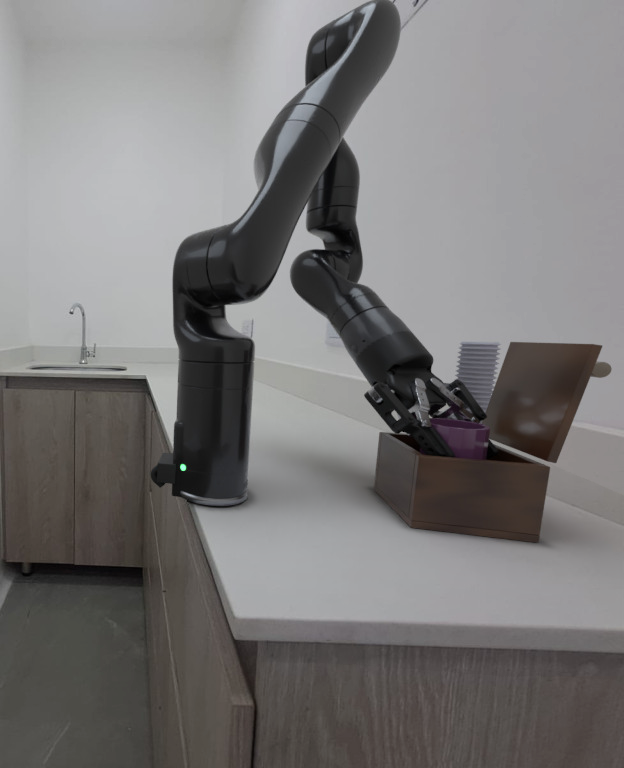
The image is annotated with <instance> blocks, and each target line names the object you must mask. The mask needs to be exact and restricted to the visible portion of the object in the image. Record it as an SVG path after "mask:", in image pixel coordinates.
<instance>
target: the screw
mask: <svg viewBox="0 0 624 768" xmlns="http://www.w3.org/2000/svg"><path fill="white" fill-rule="evenodd" d="M459 345H461V346H459V347H458V349H459V350H460V351H457V354H459V355H458V356H457V359H459V360H457V361H456V363H457V364H458V365H455V366H456V368H458V369H456V370H455V372H456V374H454V376H455V377H457V378H455V379H454V380H460V381H461V382H463V384H464V385H465V386H466V388H467V389H468V390H469V392H470V393H471V395H472V396H473V397H474V399H475V400H476V401H477V403H478V404H479V406H480V407H481V408H482V410H483V411H484V413H485V412H486V410H487V407H488V404H489V401H490V398H491V396H492V393H493V390H494V387H495V384H496V381H494V380H497V379H498V376H497V377H496V375H497V374H498V375H499V373H498V372H497V371H495V370H499V367H497V365H499V364H500V363H499V362H497V361H498V360H500V359H501V358H500V357H497V356H499V355H501V353H500V352H498V351H500V350H501V349H502V348H501V347H498V346H501V345H502V344H501V343H500V342H499V341H498V342H497V341H461V342H460V343H459ZM466 409H467V410H468V411H469V412H470V413H472V412H471V410H470V409H469V407H468V408H466ZM450 416H451V417H452V418H453V419H456V420H457V418H456V417H455V415H454V414H452V415H450ZM482 421H483V420H482ZM482 421H481V422H480V424H482Z"/></svg>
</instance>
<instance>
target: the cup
mask: <svg viewBox="0 0 624 768" xmlns="http://www.w3.org/2000/svg"><path fill="white" fill-rule="evenodd" d="M429 418H430V421H431V424H432V426H431V427H429V428H435V429H436V430H437V431H438V433H439V434H440V435H441V437H442V438H443V439H444V441H445V442H446V443H447V445H448V446H449V447H450V449H451V450H452V451H453V452H454V454H455V457H454V458H467V459H479V460H486V456H487V448H488V441H489V440H490V439H489V434H490V428H489V426H486V425H483V424H480V423H475V422H470V421H464V420H456V419H446V418H432V417H429ZM420 453H421V454H423V455H426V454H425V452H424V451H423V450H422V448H421V447H420Z"/></svg>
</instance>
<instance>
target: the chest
mask: <svg viewBox="0 0 624 768" xmlns="http://www.w3.org/2000/svg"><path fill="white" fill-rule="evenodd" d="M493 444H494V443H493ZM494 446H495V447H496V448H497V450H498V454H497V455H496V456H494V457H492V458H490V459H488V460H479V459H467V458H454V457H441V456H429V455H423V454H421V453H420V445H419V444H418V442H417V441H416V440H415V438H414V437H410V436H408V435H407V434H406V433H405V432H400V433H399V434H397V433H395V432H388V431H379V433H378V444H377V452H376V462H375V472H374V475H375V476H374V484H373V491H374V492H376V493H377V494H378V495H379V496H380V497H381V498H382V500H383V501H384V502H385V503H386V504H387V505H388V506H390V508H392V510H393V511H394V512H395V513H396V514H397V515H398V516H399V517H400V519H402V520H403V521H404V522H405V523H406V524H407V525H408V526H409V527H410V529H411V528H412V529H421V530H428V531H438V532H445V533H454V534H461V535H462V534H463V535H470V536H479V537H486V538H495V539H503V540H510V541H511V540H512V541H520V542H530V543H539V542H540V535H541V528H542V522H543V516H544V510H545V504H546V497H547V491H548V485H549V478H550V472H551V467H550V466H549V465H546V464H544V463H542V462H539V461H536V460H534V459H531V458H530V457H527V456H524V455H522V454H519V453H517V452H514V451H512V450H509V449H507V448H504V447H503V446H499V445H497V444H494Z"/></svg>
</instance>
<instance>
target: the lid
mask: <svg viewBox="0 0 624 768" xmlns="http://www.w3.org/2000/svg"><path fill="white" fill-rule="evenodd" d="M602 349H603V345H601V344H595V343H572V342H571V343H569V342H567V343H565V342H534V341H531V342H530V341H510V342H509V345H508V347H507V351H506V353H505V357H504V359H503V362H502V365H501V368H500V370H499V373H498V376H497V378H496V381H495V382H496V383H495V384H494V389H492V391H493V393H492V394H491V395H492V396H491V398H490V401H489V404H488V407H487V410H486V412H485V414H486V415H487V418H486V419H484V420H483V421H482V424H483V425H486V426H489V428H490V434H489V440H490V441H493V442H497V443H499V444H502V445H504V446H506V447H509V448H512V449H514V450H516V451H519V452H522V453H524V454H527V455H529V456H533V457H535V458H537V459H540V460H543V461H545V462H547V463H553V464H557V462H558V460H559V457H560V455H561V452H562V450H563V447H564V445H565V442H566V440H567V437H568V434H569V432H570V430H571V427H572V425H573V423H574V420H575V416H576V414H577V412H578V409H579V407H580V404H581V402H582V399H583V396H584V394H585V392H586V389H587V387H588V384H589V382H590V379H591V378H598V379H601V378H602V379H603V378H606V377H607V376H609V375H610V374H611V373H612V366H611V364H610V363H608V362H606V361H598V358H599V357H600V354H601V351H602Z"/></svg>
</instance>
